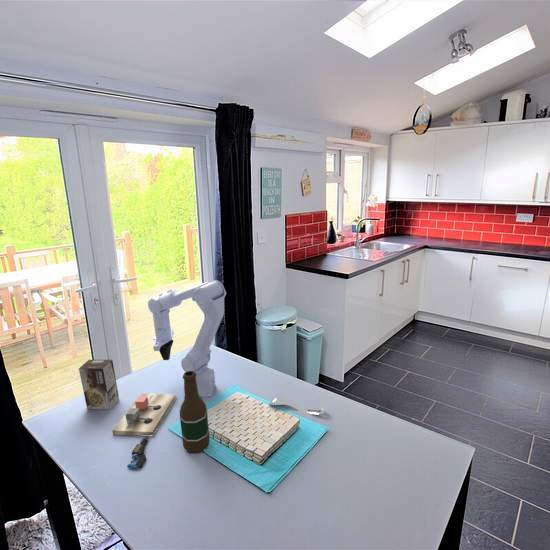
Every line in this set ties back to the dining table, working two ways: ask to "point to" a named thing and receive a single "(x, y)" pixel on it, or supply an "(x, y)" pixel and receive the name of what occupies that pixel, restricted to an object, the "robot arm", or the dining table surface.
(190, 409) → the beer bottle
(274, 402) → the stirrer
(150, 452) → the dining table surface
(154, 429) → the beige slider panel
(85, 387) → the coffee box
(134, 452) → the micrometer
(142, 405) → the block
